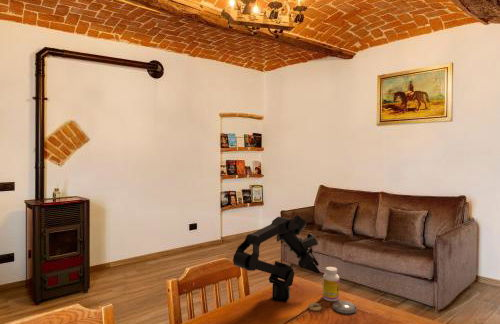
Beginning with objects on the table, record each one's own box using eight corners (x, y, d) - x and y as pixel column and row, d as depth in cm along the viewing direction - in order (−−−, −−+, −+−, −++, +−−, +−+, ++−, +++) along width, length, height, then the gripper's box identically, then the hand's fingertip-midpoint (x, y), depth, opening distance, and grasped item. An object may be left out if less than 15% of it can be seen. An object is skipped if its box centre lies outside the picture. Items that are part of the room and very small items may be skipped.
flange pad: (331, 312, 136) (331, 308, 136) (333, 302, 145) (333, 298, 145) (356, 315, 133) (356, 312, 133) (356, 305, 142) (356, 302, 142)
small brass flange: (307, 310, 137) (307, 307, 137) (309, 304, 142) (309, 302, 142) (320, 312, 136) (320, 309, 136) (322, 306, 141) (322, 303, 141)
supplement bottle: (339, 302, 144) (340, 272, 143) (322, 301, 145) (323, 270, 145) (338, 295, 151) (339, 266, 150) (322, 294, 152) (323, 265, 151)
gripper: (307, 234, 139) (335, 264, 138) (306, 224, 157) (330, 249, 157) (287, 253, 140) (314, 282, 140) (288, 240, 159) (312, 266, 158)
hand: (318, 268), depth 148 cm, fingers open, 9 cm apart
